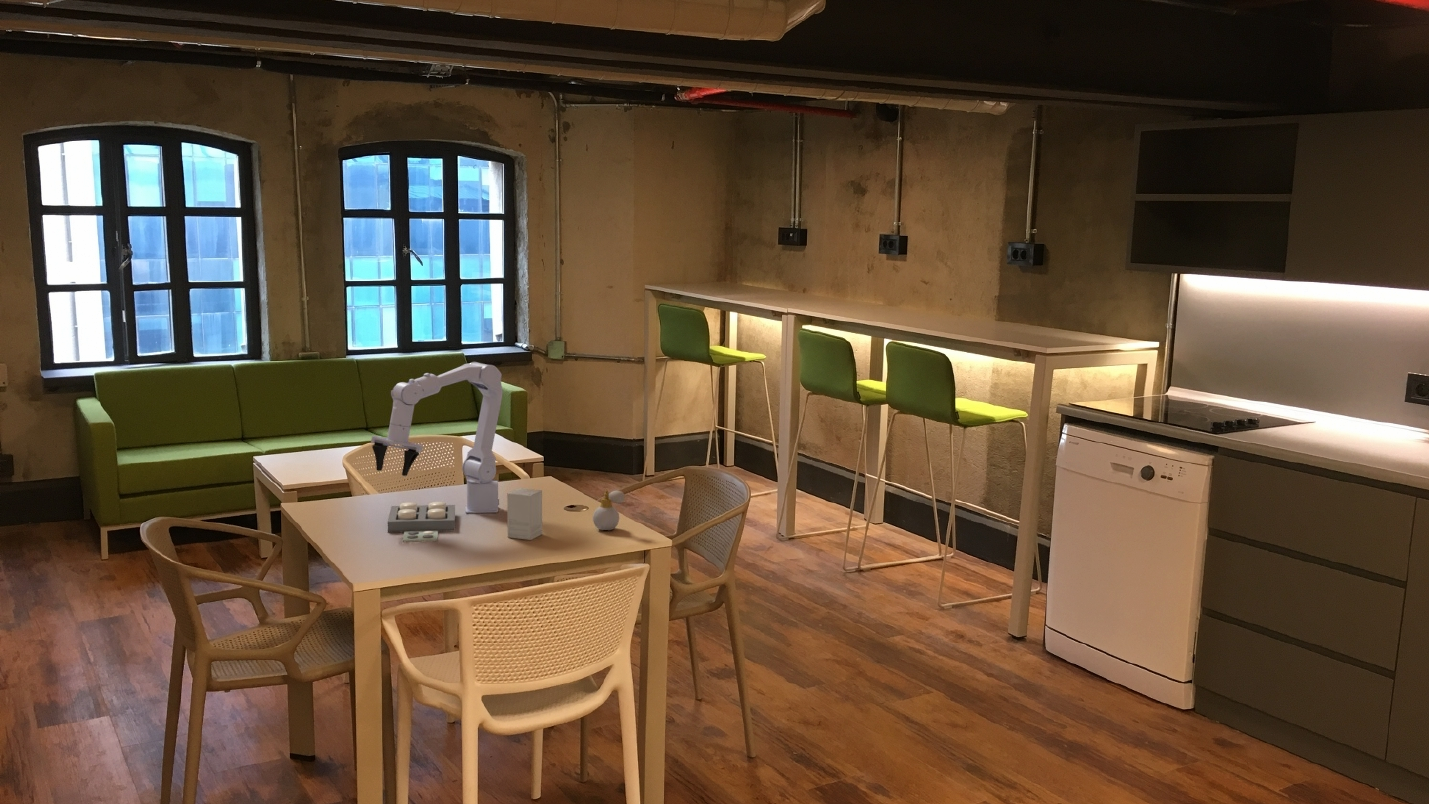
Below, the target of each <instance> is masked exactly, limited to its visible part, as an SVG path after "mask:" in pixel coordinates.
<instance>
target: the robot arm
mask: <svg viewBox="0 0 1429 804" xmlns="http://www.w3.org/2000/svg"><path fill="white" fill-rule="evenodd" d="M502 375H503V374H502V373H501V371H500V370H499V369H498V368H497V367H496V366H495V365H493V364H485V363H482V362H477V361H472V362H470V363H464V364H462V365H461V366H458V367H456V368H454V369H451V370H448V371H446V372H444V373H441V374H438V375H436V374H434V373H429V372H426V373H424V374H423V376H421V377H417V378H415V379H414V378H410V379H409V380H408V382H404V381H402V382H398V383H396V385H394V387H393V388H392V390H390V396H391V398H392V401H393V402H392V410H391V415H390V421H389V427H388V431H387V437H383V436H378V435H372V436H371V439H370V440H371V441H370V443H371V444H373V445H372V446H371V447H372V451H373V453H374V454H373V455H374V457H375V464H376V471H378V472H379V471H383V467H384V461H385V457H386V452H387V450H388V448H389V447H393V448H397V449H402V450H404V451H403V452H404V453H403V454H404V455H403V456H404V459H403V467H402V472H401V475H402V476H404V477H406V476H408V474H409V471H410V469H411V468H412V466H413V464H414V462H415V460H416V459H417V458H418V457H419V456H420V453H422V452H423V447H424V446H423V444H418V443H414V442H409V438H410V433H411V427H412V426H411V425H412V421H413V417H414V415H413V414H414V410H415V405H416V404H418V403H419V401H420V400H421V399H422V400H423V399H424V398H427V397H429V396H432V395H436V394H438V393H439V392H440V391H441V389H442V387H445V386H449V385H452V384H455V383H456V384H457V383H460V382H463V381H468V382H469V383H470V384H471V385H473V386H475V388H477V389H478V390H479V392H480V393H481V394H482V400H481V406H480V410H479V416H478V422H477V428H476V432H475V437H474V442H473V446H472V448H471V449H470V450H469V451H468V452H467V455H466V458H465V459H464V461H463V463H462V466H461V468H462V469H461V470H462V473H463V474H464V475H465V480H466V505H465V507H464V509H465V513H466V514H479V513H481V514H482V513H487V514H488V513H498V512H499V506H500V499H499V480H494V478H495V476H496V475H497V474H496V473H497V467H496V461H497V460H496V459H497V458H496V456H495V454H494V453H493V445H494V441H495V435H496V429H497V426H498V419H499V415H500V411H501V404H502V400H503V395H504V391H503V386H502Z"/></svg>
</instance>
